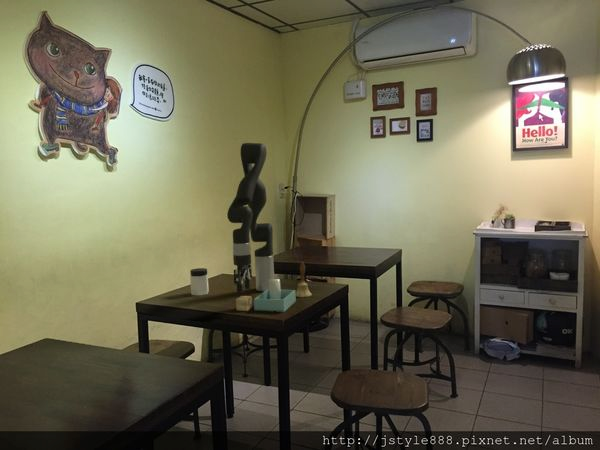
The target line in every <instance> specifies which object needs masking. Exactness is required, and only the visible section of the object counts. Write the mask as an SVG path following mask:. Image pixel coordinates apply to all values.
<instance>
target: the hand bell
mask: <svg viewBox="0 0 600 450" xmlns="http://www.w3.org/2000/svg"><path fill="white" fill-rule="evenodd" d="M305 272H306V265H305V262H304V261H301V262H300V264H299V273H300V282H299V283H298V284H297V290H296V291H295V295H296V297H297V298H307V297H311V296H312V294H313V293H312V292H310V290H309V287H308V283H306V282H305Z"/></svg>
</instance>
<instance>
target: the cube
mask: <svg viewBox="0 0 600 450" xmlns="http://www.w3.org/2000/svg"><path fill="white" fill-rule="evenodd" d="M252 301H253V300H252V296H251V295H250V296H248V295H240V296H239V297H237V298H236V299H235V304H236V306H235V307H236V311H243V312H245V311H246V312H248V311H249V310H251V309H252V308H253V302H252Z"/></svg>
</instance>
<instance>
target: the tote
mask: <svg viewBox="0 0 600 450" xmlns="http://www.w3.org/2000/svg"><path fill="white" fill-rule="evenodd" d="M295 293H296V289H281V300H277V299H270V293H269V289H267V290H266V291H262V293H260V294H259V295H257V296H256V297H255V298H254V299H253V309H254V311H255V312H274V311H276V312H278V313H284V312H286V311H287V310H288V309H289V308H290V307H291V306H292V305H293V304H294V303H296V301H297V298H296V295H295Z"/></svg>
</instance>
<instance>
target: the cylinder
mask: <svg viewBox="0 0 600 450" xmlns="http://www.w3.org/2000/svg"><path fill="white" fill-rule="evenodd" d="M281 290H282V289H281V279H280V278H274V279H270V280H269V293H270V299H277V300H281Z"/></svg>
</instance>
